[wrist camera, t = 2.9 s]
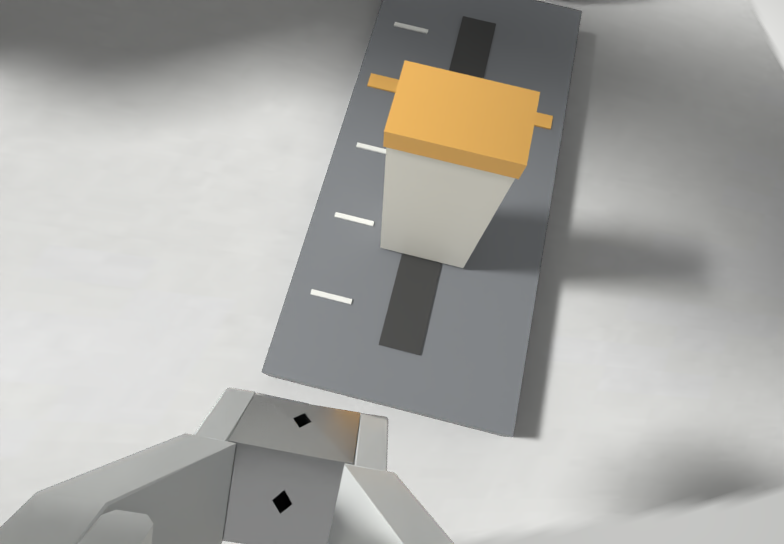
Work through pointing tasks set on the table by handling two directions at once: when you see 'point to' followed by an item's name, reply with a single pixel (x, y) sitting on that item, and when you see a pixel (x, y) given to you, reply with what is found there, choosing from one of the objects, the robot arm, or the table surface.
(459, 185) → the fader tab
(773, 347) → the table surface
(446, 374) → the console board
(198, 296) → the table surface
